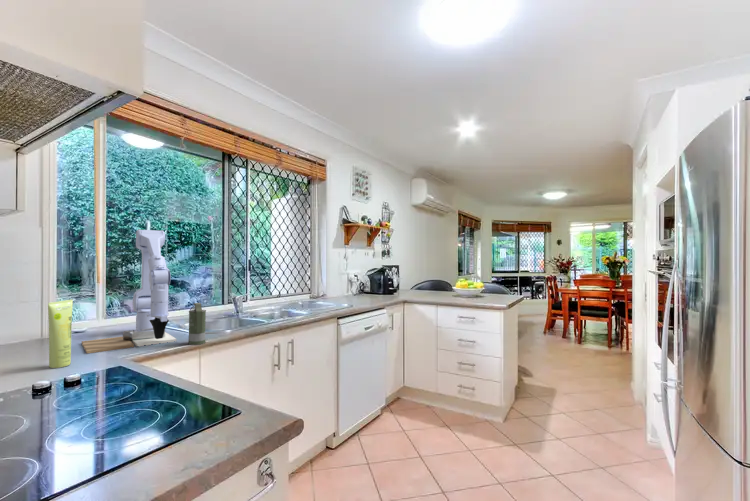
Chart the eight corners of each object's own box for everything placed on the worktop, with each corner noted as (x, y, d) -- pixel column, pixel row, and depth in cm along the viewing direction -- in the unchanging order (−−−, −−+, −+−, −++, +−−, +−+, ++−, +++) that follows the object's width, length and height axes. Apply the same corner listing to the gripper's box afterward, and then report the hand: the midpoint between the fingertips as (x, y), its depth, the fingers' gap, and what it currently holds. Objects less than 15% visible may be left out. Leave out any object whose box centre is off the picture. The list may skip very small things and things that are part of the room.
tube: (69, 367, 110) (70, 301, 111) (46, 370, 108) (47, 302, 108) (71, 362, 115) (72, 299, 115) (50, 365, 112) (51, 300, 112)
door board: (127, 338, 148) (127, 329, 148) (164, 333, 157) (164, 325, 157) (137, 346, 135) (137, 337, 135) (176, 341, 144) (176, 332, 144)
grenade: (186, 342, 142) (187, 303, 142) (203, 340, 146) (204, 301, 146) (190, 345, 137) (190, 304, 137) (207, 343, 141) (208, 303, 141)
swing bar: (122, 340, 139) (122, 332, 139) (123, 338, 142) (123, 331, 143) (165, 336, 146) (165, 329, 146) (164, 334, 149) (165, 327, 149)
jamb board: (81, 343, 139) (81, 340, 139) (127, 338, 148) (127, 335, 148) (86, 353, 125) (86, 350, 125) (136, 346, 135) (136, 343, 135)
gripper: (142, 300, 143) (142, 336, 143) (151, 304, 132) (151, 343, 132) (163, 299, 147) (163, 333, 147) (173, 303, 137) (173, 340, 137)
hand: (158, 338), depth 140 cm, fingers closed
